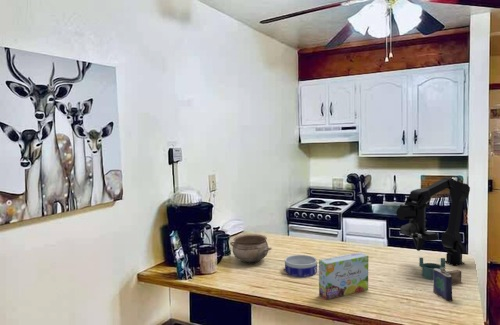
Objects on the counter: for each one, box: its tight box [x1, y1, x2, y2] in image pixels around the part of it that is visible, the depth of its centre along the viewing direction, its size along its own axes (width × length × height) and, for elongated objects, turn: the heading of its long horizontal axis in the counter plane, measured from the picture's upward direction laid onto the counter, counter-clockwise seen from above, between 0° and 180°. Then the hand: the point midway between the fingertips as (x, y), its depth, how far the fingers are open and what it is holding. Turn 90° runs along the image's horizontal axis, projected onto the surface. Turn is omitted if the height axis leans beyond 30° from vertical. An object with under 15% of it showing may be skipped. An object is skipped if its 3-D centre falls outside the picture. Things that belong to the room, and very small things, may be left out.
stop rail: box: [446, 269, 462, 285], centre depth 163 cm, size 12×2×5 cm, turn 107°
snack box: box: [318, 252, 369, 301], centre depth 157 cm, size 21×6×15 cm, turn 114°
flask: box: [432, 267, 453, 302], centre depth 151 cm, size 10×3×12 cm, turn 8°
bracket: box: [418, 257, 446, 281], centre depth 171 cm, size 9×9×9 cm
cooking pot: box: [229, 233, 273, 265], centre depth 200 cm, size 25×19×12 cm
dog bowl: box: [284, 254, 318, 278], centre depth 183 cm, size 15×15×6 cm
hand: (418, 250), depth 179 cm, fingers closed
